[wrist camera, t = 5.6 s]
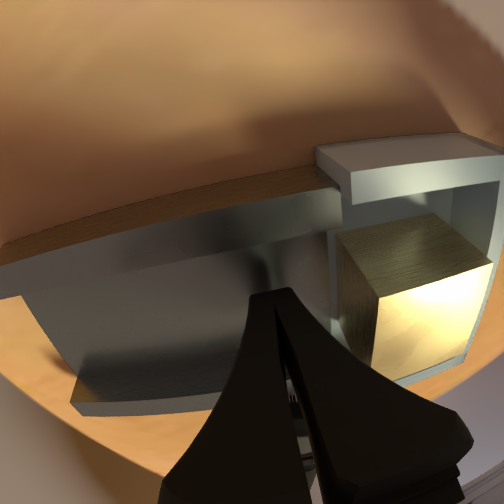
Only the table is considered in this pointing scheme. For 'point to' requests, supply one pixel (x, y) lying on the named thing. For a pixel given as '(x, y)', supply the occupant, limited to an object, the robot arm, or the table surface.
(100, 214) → the slot bed
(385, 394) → the robot arm
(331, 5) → the table surface
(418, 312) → the yellow cube
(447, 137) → the tray
